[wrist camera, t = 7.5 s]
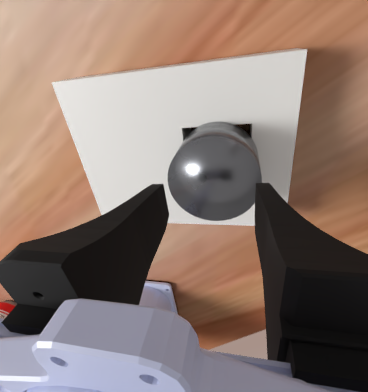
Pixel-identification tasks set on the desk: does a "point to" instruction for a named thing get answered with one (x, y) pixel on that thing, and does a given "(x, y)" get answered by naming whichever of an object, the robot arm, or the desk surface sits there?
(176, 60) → the desk surface
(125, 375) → the robot arm
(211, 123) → the cylinder
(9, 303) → the beer can
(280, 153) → the plate
